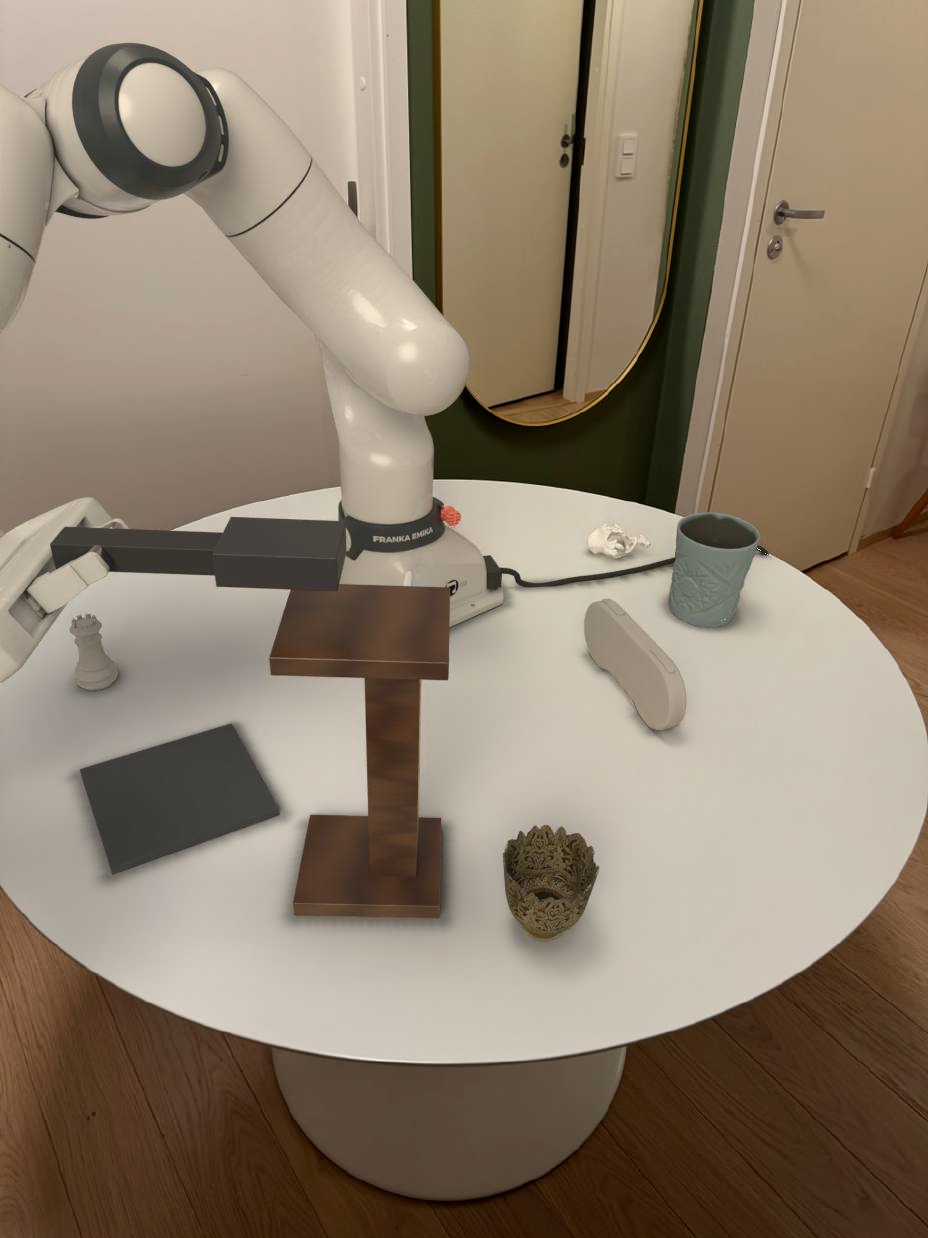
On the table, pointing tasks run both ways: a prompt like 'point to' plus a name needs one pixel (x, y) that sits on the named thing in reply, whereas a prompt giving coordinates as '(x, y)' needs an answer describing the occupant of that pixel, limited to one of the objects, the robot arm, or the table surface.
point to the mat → (175, 796)
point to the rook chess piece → (91, 655)
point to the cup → (548, 880)
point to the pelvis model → (600, 544)
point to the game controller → (635, 664)
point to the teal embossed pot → (710, 567)
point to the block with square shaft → (223, 552)
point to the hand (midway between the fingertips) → (115, 543)
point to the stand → (372, 744)
